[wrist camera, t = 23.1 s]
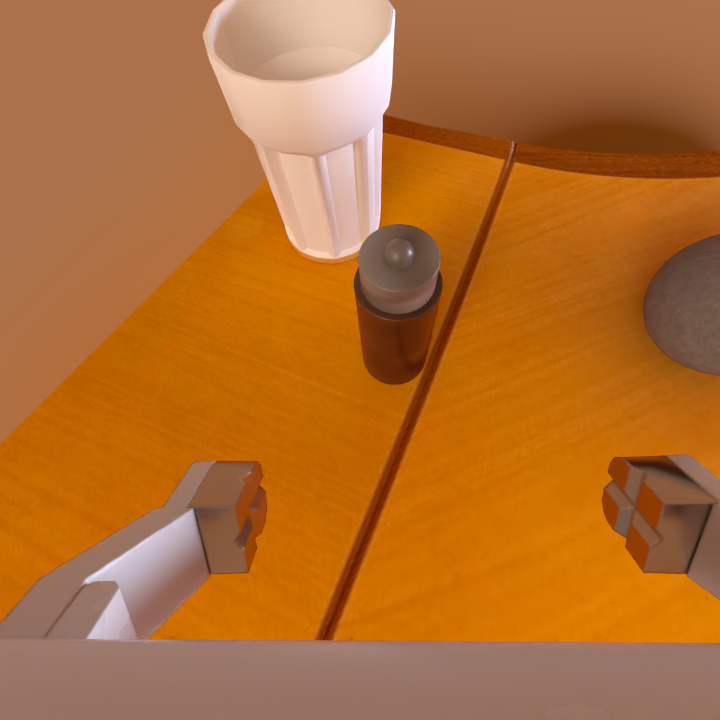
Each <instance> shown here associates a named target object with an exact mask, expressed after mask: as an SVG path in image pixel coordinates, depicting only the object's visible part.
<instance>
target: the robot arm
mask: <svg viewBox="0 0 720 720" xmlns="http://www.w3.org/2000/svg"><path fill="white" fill-rule="evenodd" d="M608 473H609V475H610V476H611V478H612V479H613V480H612V481H611V482H610V483H609V484H608V485H607V486H606V487H604V491H603V496H602V504H603V511H604V514H605V517H606V519H607V521H608V523H609V524H610V526H611V527H612V529H613V530H614V531H615V532H617V533H619V534H620V535H622V536H623V537H625V538H627V539H626V545H625V547H626V549H627V550H628V551H629V553H630V554H631V556H632V557H633V559H634V560H635V561H636V563H637V564H638V566H639V567H640V568H641V570H642V571H643V573H666V574H687V576H688V577H689V578H690V579H692V580H693V581H694V582H696V583H697V584H699V585H700V586H701V587H703V588H704V589H705V590H707V591H708V592H710V593H711V594H712V595H714V596H715V597H716V598H718V599H719V600H720V480H719V479H718V478H717V477H716V476H714V475H713V474H712V473H711V472H710V471H708V470H707V469H706V468H705V467H704V466H702V465H701V464H700V463H699V462H697V461H696V460H695V459H694V458H693V457H690V456H687V455H685V454H681V455H661V456H639V457H614V458H613V459H612V461H611V462H610V465H609V469H608ZM262 477H263V473H262V468H261V464H260V463H259V462H258V461H217V462H216V461H197V462H195V463H193V464H192V465H191V466H190V468H189V469H188V471H187V472H186V474H185V475H184V476H183V478H182V479H181V481H180V482H179V484H178V485H177V487H176V488H175V490H174V491H173V493H172V494H171V496H170V497H169V499H168V500H167V502H166V503H165V505H164V506H163V507H162V509H154V510H152V511H150V512H149V513H147V514H145V515H144V516H142V517H141V518H139V519H137V520H136V521H134V522H132V523H131V524H129V525H127V526H126V527H124V528H122V529H121V530H119V531H117V532H116V533H114V534H112V535H111V536H109V537H107V538H106V539H104V540H102V541H101V542H99V543H98V544H96V545H94V546H93V547H91V548H89V549H88V550H86V551H84V552H83V553H81V554H79V555H78V556H76V557H74V558H73V559H71V560H69V561H68V562H66V563H64V564H63V565H61V566H60V567H58V568H56V569H55V570H53V571H51V572H50V573H48V574H46V575H45V576H43V577H41V578H40V579H38V581H37V582H36V583H35V584H34V585H33V586H32V587H31V589H30V590H29V591H28V592H27V593H26V594H25V595H24V597H23V598H22V599H21V600H20V601H19V602H18V603H17V605H16V606H15V607H14V608H13V609H12V610H11V612H10V613H9V614H8V615H7V616H6V617H5V618H4V620H3V621H2V622H1V623H0V720H720V643H600V642H466V641H316V640H180V639H148V638H149V637H150V636H151V635H152V634H153V633H154V632H155V631H156V630H157V629H158V628H159V627H160V626H161V625H162V624H163V623H164V622H165V621H166V620H167V619H168V618H169V617H170V616H171V615H172V614H173V613H174V612H175V611H176V610H177V609H178V608H179V607H180V606H181V605H182V604H183V603H184V602H185V601H186V600H187V599H188V598H189V597H190V596H191V595H192V594H193V593H194V592H195V591H196V590H197V589H198V588H199V587H200V586H201V585H202V584H203V583H204V582H205V581H206V580H207V579H208V578H209V577H210V574H235V573H249V570H250V567H251V564H252V561H253V558H254V555H255V552H256V549H257V545H256V539H255V538H256V537H257V536H258V535H260V534H261V533H262V531H263V528H264V525H265V521H266V513H267V498H266V491H265V490H264V489H263V488H262V487H261V486H260V483H261V480H262Z"/></svg>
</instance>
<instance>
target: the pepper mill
mask: <svg viewBox="0 0 720 720" xmlns="http://www.w3.org/2000/svg"><path fill="white" fill-rule="evenodd" d="M440 260H441V257H440V251H439V248H438V246H437V244H436V242H435V241H434V239H433V238H432V237H431V236H430V235H429V234H427V233H426V232H425V231H423V230H421V229H419V228H417V227H414V226H410V225H403V224H396V225H389V226H385V227H382V228H380V229H378V230H376V231H374V232H373V233H372V234H370V235H369V236H368V237H367V238H366V239H365V241H364V242H363V244H362V246H361V248H360V250H359V255H358V264H359V267H358V269H357V271H356V274H355V278H354V291H355V298H356V306H357V314H358V322H359V329H360V337H361V345H362V353H363V360H364V364H365V367H366V369H367V370H368V372H369V373H370V374H371V375H372V376H373V377H374V378H375V379H377V380H379V381H381V382H383V383H387V384H403V383H406V382H408V381H410V380H412V379H414V378H415V377H416V376H417V375H418V374H419V373H420V372H421V370H422V368H423V366H424V363H425V359H426V355H427V351H428V346H429V342H430V338H431V334H432V329H433V325H434V321H435V317H436V312H437V308H438V304H439V300H440V295H441V291H442V277H441V273H440V271H439V267H440Z"/></svg>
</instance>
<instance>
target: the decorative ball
mask: <svg viewBox="0 0 720 720" xmlns="http://www.w3.org/2000/svg"><path fill="white" fill-rule="evenodd" d="M643 310H644V319H645V325H646V327H647V330H648V332H649V335H650V336H651V338H652V340H653V341H654V342H655V344H656V345H657V346H658V348H659V349H660V350H661V351H662V352H663V353H665V354H666V355H667V356H668V357H670V358H671V359H673V360H674V361H676V362H677V363H679V364H681V365H683V366H685V367H687V368H690V369H693V370H696V371H699V372H703V373H708V374H713V375H720V234H719V235H715V236H712V237H708V238H706V239H703V240H700V241H698V242H696V243H694V244H691V245H690V246H688V247H686V248H684V249H683V250H681V251H680V252H678V253H677V254H675V255H674V256H673V257H672V258H670V259H669V260H668V261H667V262H666V263H665V264H664V265H663V266H662V267H661V268H660V270H659V271H658V272H657V273H656V275H655V276H654V277H653V279H652V281H651V283H650V285H649V287H648V289H647V292H646V295H645V300H644V309H643Z"/></svg>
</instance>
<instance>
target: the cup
mask: <svg viewBox="0 0 720 720" xmlns="http://www.w3.org/2000/svg"><path fill="white" fill-rule="evenodd" d="M394 25H395V10H394V9H393V7H392V5H391V3H390V2H389V0H223V1H222V2H221V3H220V4H219V5H218V6H217V7H215V9H213V11H212V13H211V15H210V18H209V20H208V23H207V25H206V28H205V30H204V32H203V38H204V42H205V46H206V50H207V54H208V58H209V60H210V62H211V65H212V67H213V70H214V72H215V74H216V77H217V79H218V82H219V84H220V87H221V89H222V92H223V94H224V96H225V99H226V101H227V104H228V106H229V109H230V111H231V114H232V116H233V118H234V121H235V123H236V125H237V126H238V127H239V128H241V130H242V131H243V132H244V133H245V134H246V135H247V136H248V137H249V138H250V139H251V140H253V143H254V145H255V148H256V150H257V153H258V156H259V158H260V161H261V164H262V167H263V169H264V172H265V174H266V177H267V180H268V182H269V185H270V188H271V190H272V193H273V196H274V198H275V201H276V204H277V206H278V209H279V211H280V214H281V217H282V219H283V222H284V225H285V228H286V232H287V235H288V238H289V240H290V243H291V245H292V246H293V247H294V249H295V250H296V251H297V252H298V253H299V254H300V255H301V256H303V257H305V258H307V259H309V260H312V261H315V262H318V263H326V264H338V263H342V262H346V261H349V260H352V259H355V258H356V257H358V255H359V250H360V248H361V246H362V244H363V242H364V241H365V239H366V238H367V237H368V236H369V235H370V234H372V233H373V232H374V231H376V230H378V229H379V227H380V205H381V166H382V128H383V114H384V112H385V111H386V109H387V108H388V106H389V102H390V93H391V86H392V69H393V46H394Z"/></svg>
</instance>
